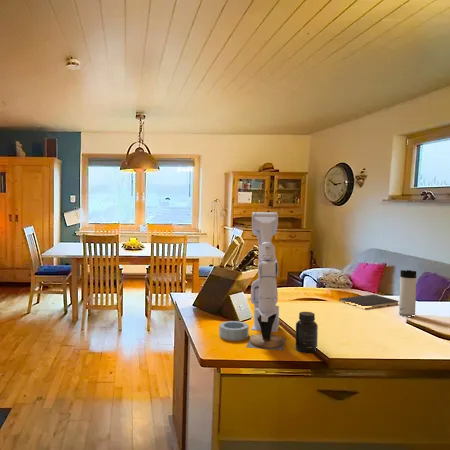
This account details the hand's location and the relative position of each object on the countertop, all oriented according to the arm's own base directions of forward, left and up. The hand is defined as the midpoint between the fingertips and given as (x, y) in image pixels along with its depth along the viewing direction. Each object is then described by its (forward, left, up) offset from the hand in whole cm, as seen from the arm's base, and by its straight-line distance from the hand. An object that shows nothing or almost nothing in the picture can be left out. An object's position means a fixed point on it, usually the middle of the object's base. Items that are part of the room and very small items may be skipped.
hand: (266, 337), depth 125 cm
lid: (0, 0, -2) cm, 2 cm away
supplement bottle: (-13, +3, -2) cm, 14 cm away
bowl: (+12, -4, -2) cm, 13 cm away
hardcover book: (-42, -69, -3) cm, 81 cm away
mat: (0, 0, -2) cm, 2 cm away
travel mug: (-55, -50, -2) cm, 74 cm away
